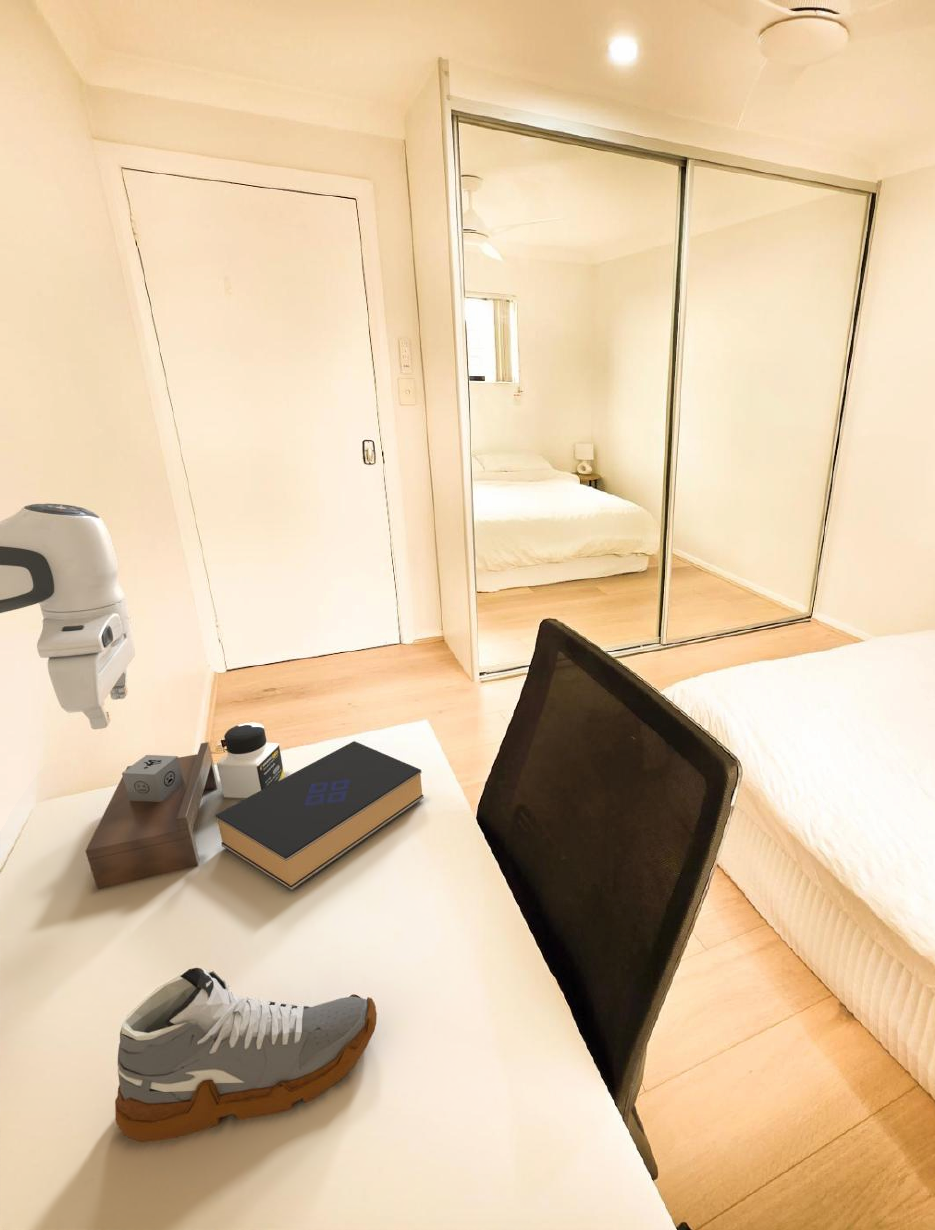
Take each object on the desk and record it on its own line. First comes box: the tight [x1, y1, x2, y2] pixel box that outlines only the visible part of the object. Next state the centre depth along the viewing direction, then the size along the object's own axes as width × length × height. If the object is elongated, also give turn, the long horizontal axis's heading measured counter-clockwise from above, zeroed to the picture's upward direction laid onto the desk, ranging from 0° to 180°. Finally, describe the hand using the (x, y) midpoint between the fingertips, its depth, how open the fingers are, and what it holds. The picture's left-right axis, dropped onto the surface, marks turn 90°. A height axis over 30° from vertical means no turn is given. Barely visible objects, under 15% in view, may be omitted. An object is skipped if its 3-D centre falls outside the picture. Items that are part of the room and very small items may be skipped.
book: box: [214, 740, 425, 891], centre depth 99 cm, size 17×25×7 cm
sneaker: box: [114, 967, 378, 1143], centre depth 61 cm, size 9×24×15 cm, turn 107°
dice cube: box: [121, 754, 184, 802], centre depth 95 cm, size 5×5×5 cm
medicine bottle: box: [216, 722, 285, 799], centre depth 107 cm, size 7×7×12 cm
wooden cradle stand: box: [84, 741, 219, 891], centre depth 96 cm, size 12×22×9 cm, turn 25°
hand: (111, 711), depth 88 cm, fingers open, 8 cm apart
